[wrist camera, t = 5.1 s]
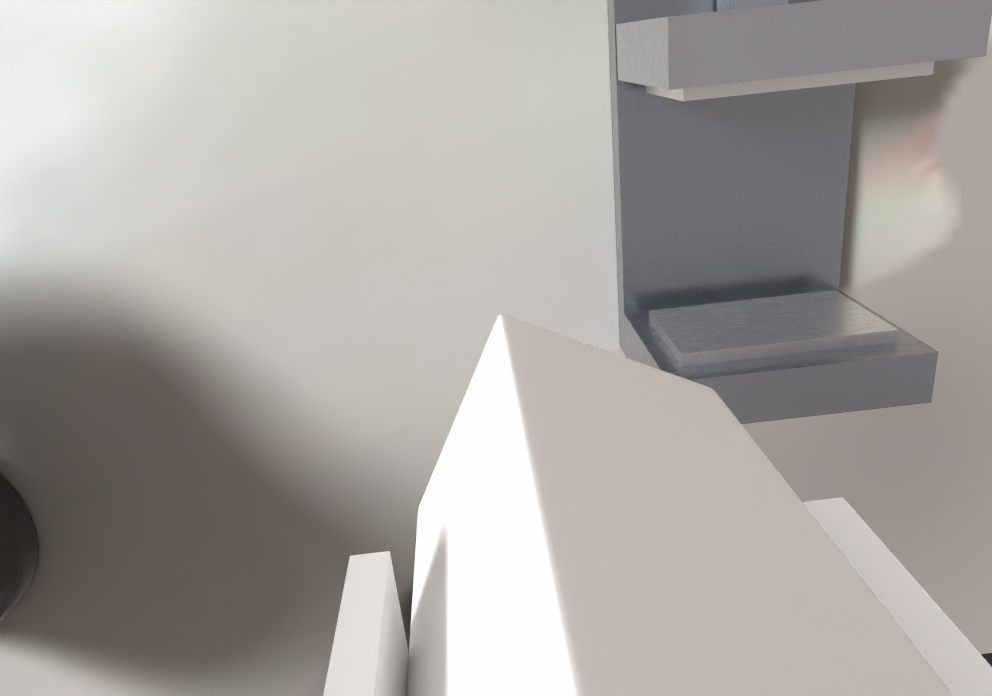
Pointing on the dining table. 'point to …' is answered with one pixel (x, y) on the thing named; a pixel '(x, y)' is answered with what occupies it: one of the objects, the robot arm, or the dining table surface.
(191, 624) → the dining table surface
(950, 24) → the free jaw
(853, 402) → the vise base
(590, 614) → the milk
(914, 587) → the robot arm
